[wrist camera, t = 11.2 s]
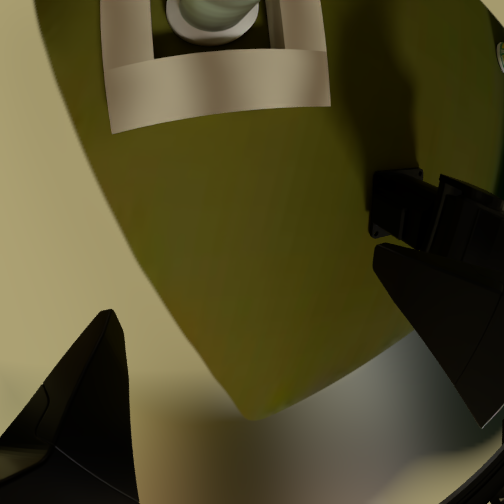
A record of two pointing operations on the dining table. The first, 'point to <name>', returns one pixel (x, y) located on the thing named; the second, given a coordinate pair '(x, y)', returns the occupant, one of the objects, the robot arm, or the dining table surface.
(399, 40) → the dining table surface
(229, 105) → the notched board
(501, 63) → the supplement bottle
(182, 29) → the bobbin
